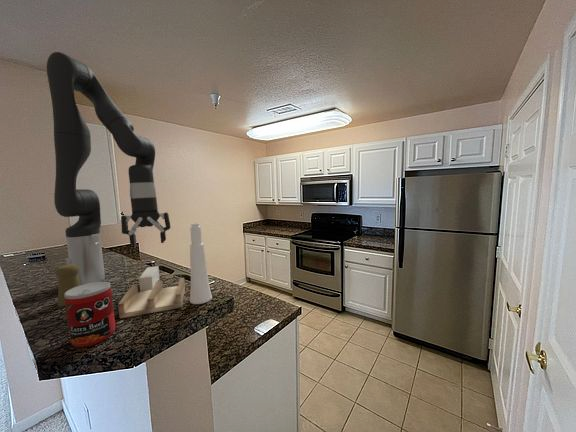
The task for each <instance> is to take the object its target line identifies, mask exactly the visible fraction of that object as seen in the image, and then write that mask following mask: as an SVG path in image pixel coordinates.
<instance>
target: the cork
mask: <svg viewBox="0 0 576 432" xmlns="http://www.w3.org/2000/svg"><path fill="white" fill-rule="evenodd" d="M78 273H79V267H78V266H77V265H76V264H68V265H67V264H64V265H61V266H58V267H57V268H56V269H55V273H54V274H55V276H56V278H58V289H57V292H58V293H57V306H58V307H65V298H64V296H65V295H64V294H65V292H67V291H68V290H70V289H72V288H74V287H77V286H80V285H81V284H80V281H79V278H78V275H77V274H78Z"/></svg>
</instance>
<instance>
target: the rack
mask: <svg viewBox="0 0 576 432" xmlns="http://www.w3.org/2000/svg"><path fill="white" fill-rule="evenodd" d="M185 285H186V284H185V277H180V278H179V281H178V285H175V286H169V287H168V286H167V287H164V286H163V280H159V281H156V283H155V285H154V287H153V289H152V290H148V291H141V292H140V291H139V289H138V288H139V287H138V283H136V284H135V283H134V284H132V285H131V286H130V287H129V289H128V290H127V291H126V293H125V294H124V296H123V297H122V298H121V300H120V301H119V302H118V304H117V307H118V308H117V309H118V314H119V317H118V318H119V319H125V318H130V317H136V316H141V315H147V314H152V313H158V312H163V311H169V310H174V309H175V310H176V309H179V308H180V309H181V308H183V304H184V297H185V291H186V286H185Z"/></svg>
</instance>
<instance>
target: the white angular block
mask: <svg viewBox="0 0 576 432" xmlns="http://www.w3.org/2000/svg"><path fill="white" fill-rule="evenodd" d="M159 278H160V269H159V265H156V266H151V267H150V266H148V267H146V269H145V270H144V271H143V272H142V273H141V275H140V277H139V278H138V281H139V282H138V284H139V292H141V291H148V290H152V289H153V287H154V285H155V283H156V281H158V280H159V281H160V279H159Z"/></svg>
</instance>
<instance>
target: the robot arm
mask: <svg viewBox="0 0 576 432" xmlns="http://www.w3.org/2000/svg"><path fill="white" fill-rule="evenodd" d="M46 75H47V76H46V77H47V82H48V88H49V93H50V98H51V99H50V100H51V105H52V106H51V107H52V116H53V117H52V118H53V141H54V143H53V144H54V152H55V153H54V154H55V182H54V195H53V197H54V198H53V199H54V207H55V210H56V212H57V214H58V215H59V216H61V217H64V218H72V217H73V218H74V217H78V220H77V221H76V222H75V223H74V224H72V225H71V226H69V227H67V228H65V238H66V245H67V253H68V254H67V255H68V258H66V260H65V261H66V265H68V264H76V265H77V266H78V267H79V273H78V274H77V275H78V278H79V281H80V284H81V285H84V284H88V283H93V282H104V281H105V280H106V276H105V275H106V273H105V265H104V258H103V249H102V248H103V247H102V240H101V239H102V238H101V231H100V229H101V225H102V219H101V215H102V214H101V204H100V199H99V196H98V194H97V192H96V191H94V190H92V189H87V188H85V189H80V188H79V189H77V178H78V175H79V172H80V170H81V169H82V167H83V166H84V164H85V163H86V162H87V161H88V158H89V157H90V155H91V152H92V141H91V138H92V137H91V131H90V128H89V126H88V125H87V122H86V120H85V119H84V116H83V115H82V113H81V112H80V110H79V108H78V105H77V102H76V98H75V92H79V93H81V95H83V96H85V98H87V99H88V100H89V101H90V102H91V103H92V105H93V107H94V112H95V115H96V117H97V119H99V121H100V123H102V125H103V126H104V127H105V129H107V131H108V132H109V133H110V134H111V135H112V137H113V140H114V141H115V143H116V145H117V147H118V148H119V150H120V151H121V152H122V153H124V154H125V155H126V156H127V157H128V156H129V157H132V158H135V162H134V163H135V164H133V165H130V166H129V167H128V179H129V198H130V205H131V211H132V212H131V215H127V214H126V215H125V214H124V215H122V216H121V217H120V221H121V234H123V235H127V236H128V237H129V244H130V245H131V246H132V247H136V246H137V245H138V244H137V237H136V232H137V230H138V229H139V228H146V227H148V228H149V227H155V228H156V229H157V230H158V231H159V235H160V243H161V244H164V243H165V241H166V240H167V235H166V234H167V233H166V232H167V231H169V230H170V229H172V227H171V222H170V217H169V215H170V214H169V213H168V211H167V212H163V213H160V212H159V209H158V201H157V192H156V187H155V186H156V185H155V178H154V172H153V171H154V166H155V160H156V148H155V145H154V143H153V141H152V140H150V139H149V138H148V137H147V138H146V137H143V136H141V135H137V134H136V133H135V132H134V130H135V127H134V125H133V123H132V122H131V121H130V119H129V118H128V117H127V116H126V115H125V114H124V113H123V112H122V111H121V110H120V108H119V107H118V106H117V105H116V104H115V103H114V101H113V100H112V99H111V98H110V96H109V94H108V93H107V91H106V90H105V88H104V87H103V85H102V84H101V82H100V81H99V79H98V78H97V77H98V76H96V74H95V73H94V71H93V70H92V69H91V68H90V67H89V66H87V65H86V64H85V63H83V62H81V61H79V60H77V59H75V58H73V57H71V56H70V55H67V54H65V53H64V52H60V51H54V52H52V53H50V55H49V56H48V58H47V60H46ZM160 217H161V219H163V220H164V225H165V226H163V225H162V224H161V223H160V222H159V221H158V220H159V218H160ZM131 220H132V221H133V222H134V224H133V225H132V226H131V229H129V222H130V221H131Z"/></svg>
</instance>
